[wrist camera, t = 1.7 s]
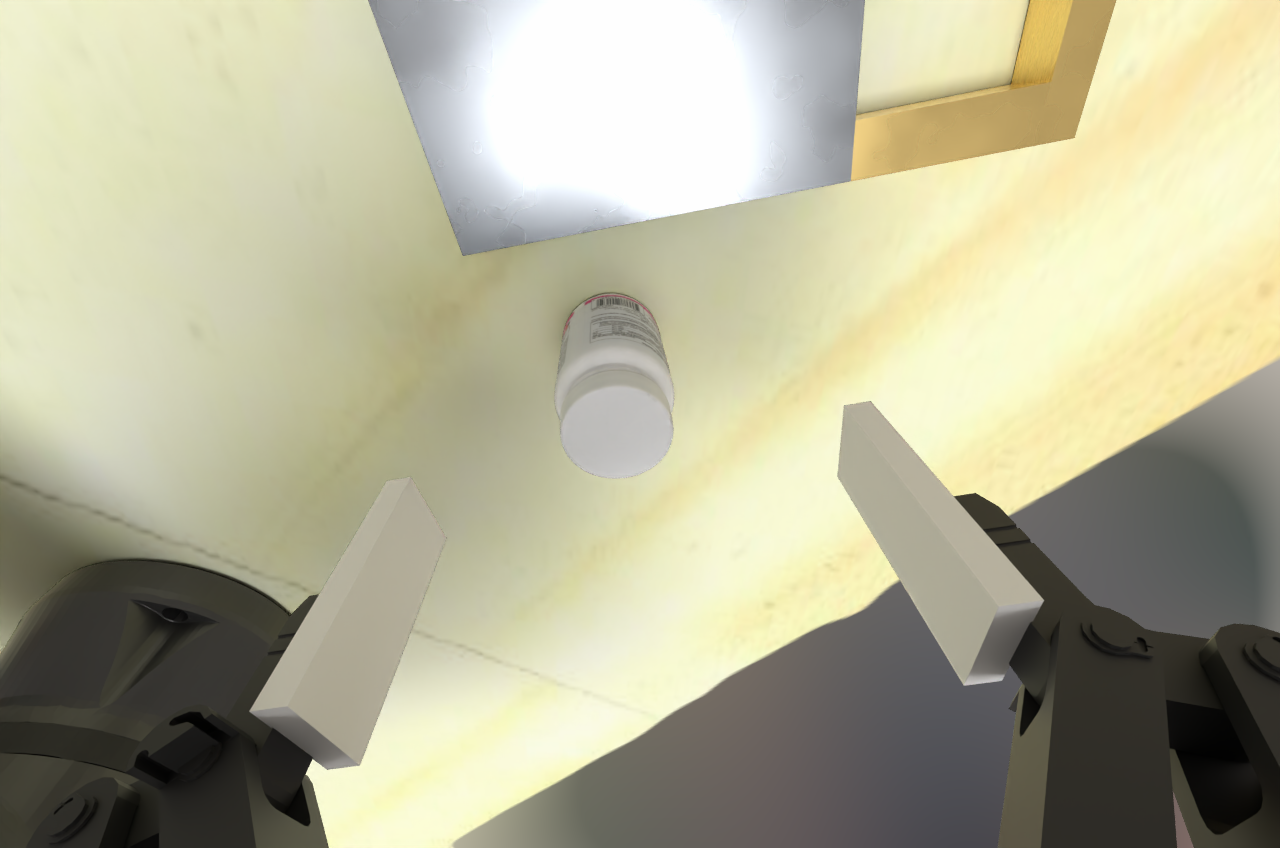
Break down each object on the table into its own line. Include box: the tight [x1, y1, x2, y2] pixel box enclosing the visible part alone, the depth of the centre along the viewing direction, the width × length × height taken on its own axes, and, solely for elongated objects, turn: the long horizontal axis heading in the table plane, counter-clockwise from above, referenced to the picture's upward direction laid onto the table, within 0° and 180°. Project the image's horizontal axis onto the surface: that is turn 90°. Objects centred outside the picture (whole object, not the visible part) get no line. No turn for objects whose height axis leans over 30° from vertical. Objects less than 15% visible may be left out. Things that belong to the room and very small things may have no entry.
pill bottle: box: [555, 293, 674, 478], centre depth 20 cm, size 5×5×8 cm
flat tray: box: [368, 0, 1116, 256], centre depth 16 cm, size 24×11×2 cm, turn 99°
